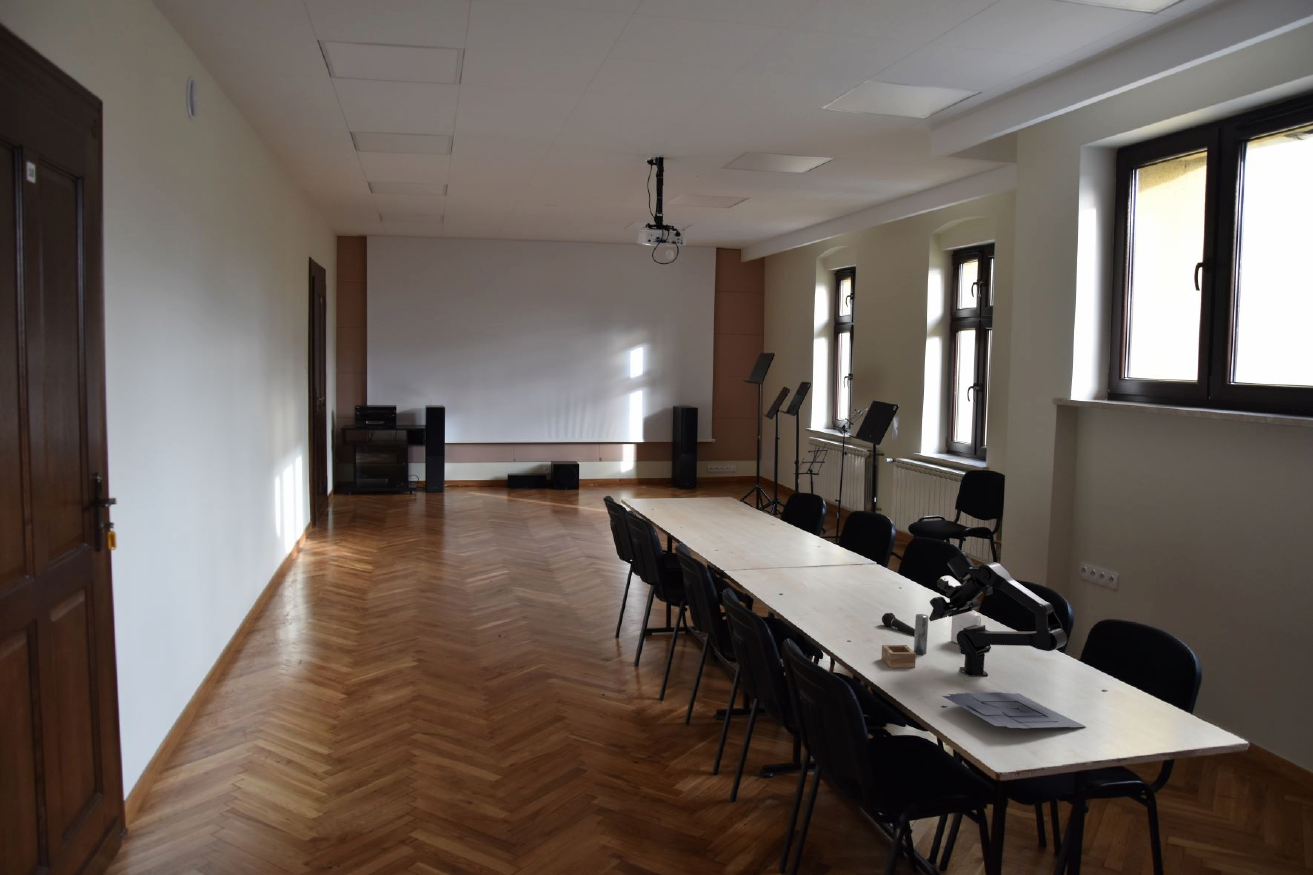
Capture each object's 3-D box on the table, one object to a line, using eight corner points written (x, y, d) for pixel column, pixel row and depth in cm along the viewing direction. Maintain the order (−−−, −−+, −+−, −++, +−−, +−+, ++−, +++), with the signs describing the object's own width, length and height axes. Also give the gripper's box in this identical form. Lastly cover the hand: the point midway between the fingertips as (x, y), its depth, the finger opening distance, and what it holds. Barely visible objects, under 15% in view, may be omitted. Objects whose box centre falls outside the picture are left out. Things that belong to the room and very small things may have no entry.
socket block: (915, 667, 272) (915, 653, 272) (890, 667, 272) (891, 653, 271) (905, 658, 280) (906, 644, 280) (881, 658, 279) (882, 645, 279)
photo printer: (948, 640, 299) (950, 605, 298) (957, 639, 301) (959, 604, 300) (972, 650, 290) (974, 614, 289) (981, 648, 292) (983, 612, 291)
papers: (934, 702, 241) (937, 690, 241) (1016, 702, 253) (1018, 689, 253) (999, 739, 219) (1001, 725, 219) (1085, 737, 231) (1088, 723, 230)
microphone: (926, 646, 302) (885, 625, 317) (932, 631, 302) (890, 611, 317) (918, 644, 299) (876, 623, 314) (924, 629, 299) (882, 609, 314)
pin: (928, 654, 284) (930, 617, 283) (916, 654, 284) (918, 617, 283) (923, 650, 288) (925, 613, 287) (911, 650, 288) (913, 613, 287)
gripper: (972, 565, 279) (943, 592, 289) (935, 572, 269) (906, 600, 278) (993, 595, 273) (962, 621, 283) (956, 603, 263) (925, 630, 272)
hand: (939, 617), depth 279 cm, fingers open, 9 cm apart
